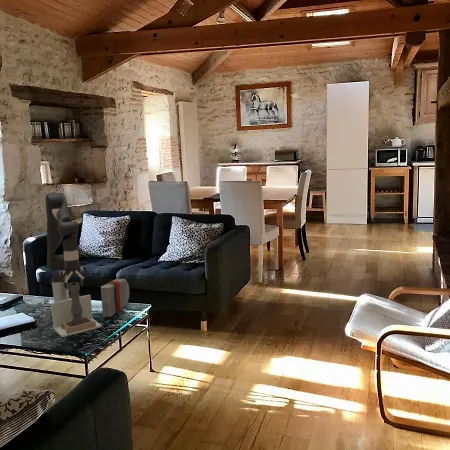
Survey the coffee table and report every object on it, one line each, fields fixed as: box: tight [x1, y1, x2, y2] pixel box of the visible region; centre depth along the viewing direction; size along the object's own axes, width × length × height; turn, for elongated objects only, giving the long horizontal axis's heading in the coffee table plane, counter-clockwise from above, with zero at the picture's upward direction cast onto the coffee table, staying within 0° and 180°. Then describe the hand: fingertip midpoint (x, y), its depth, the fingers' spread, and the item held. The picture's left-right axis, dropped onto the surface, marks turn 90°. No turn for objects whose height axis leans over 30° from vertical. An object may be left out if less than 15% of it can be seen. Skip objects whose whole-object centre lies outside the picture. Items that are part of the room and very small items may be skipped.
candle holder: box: [68, 281, 84, 326], centre depth 280 cm, size 6×6×25 cm
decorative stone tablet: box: [100, 278, 130, 318], centre depth 306 cm, size 19×6×30 cm
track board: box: [50, 294, 102, 338], centre depth 282 cm, size 15×22×15 cm
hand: (74, 287), depth 278 cm, fingers open, 8 cm apart
